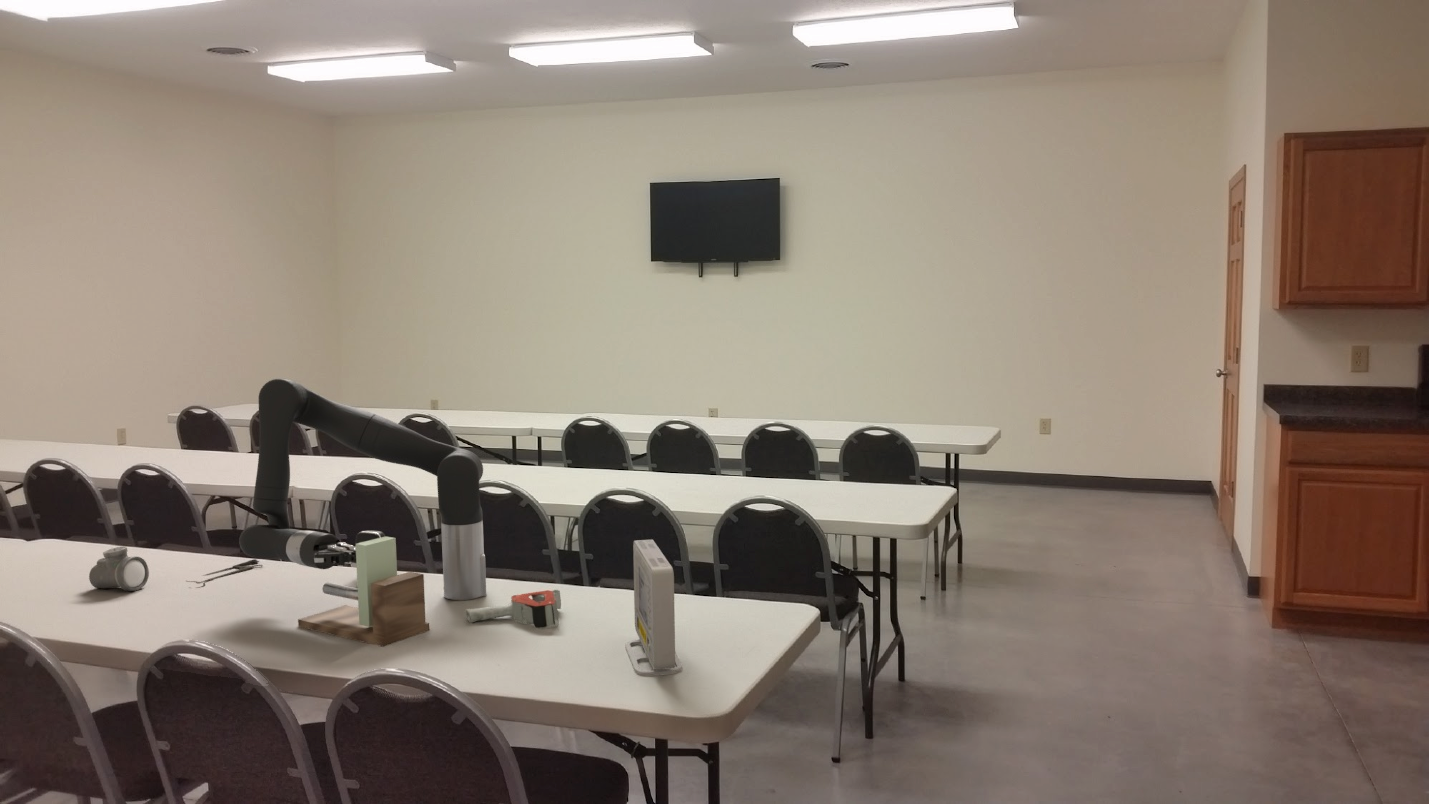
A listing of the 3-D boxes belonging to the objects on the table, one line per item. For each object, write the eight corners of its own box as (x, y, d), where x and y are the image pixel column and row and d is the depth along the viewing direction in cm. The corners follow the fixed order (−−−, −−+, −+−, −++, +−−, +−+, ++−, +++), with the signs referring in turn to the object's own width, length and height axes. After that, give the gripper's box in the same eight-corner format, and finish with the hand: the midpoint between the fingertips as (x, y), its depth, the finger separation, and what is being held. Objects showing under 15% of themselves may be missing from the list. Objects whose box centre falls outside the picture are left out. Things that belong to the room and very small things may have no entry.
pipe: (321, 596, 223) (321, 583, 222) (333, 593, 225) (332, 579, 225) (393, 611, 211) (392, 597, 211) (404, 608, 213) (403, 594, 213)
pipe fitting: (154, 583, 254) (144, 542, 252) (127, 595, 246) (117, 553, 245) (115, 586, 257) (105, 545, 256) (87, 597, 250) (77, 556, 248)
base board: (298, 626, 220) (295, 570, 219) (345, 611, 230) (343, 557, 229) (383, 646, 207) (380, 586, 205) (429, 630, 217) (427, 573, 216)
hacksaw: (255, 563, 276) (255, 557, 276) (281, 568, 271) (281, 562, 271) (168, 585, 256) (168, 579, 256) (194, 591, 251) (193, 584, 250)
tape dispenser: (460, 629, 223) (528, 640, 211) (457, 605, 222) (525, 614, 211) (520, 605, 237) (587, 614, 226) (518, 582, 237) (584, 589, 225)
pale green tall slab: (359, 624, 213) (355, 543, 212) (388, 614, 220) (385, 536, 218) (369, 626, 212) (365, 545, 210) (398, 616, 218) (395, 538, 216)
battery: (389, 575, 261) (387, 530, 259) (380, 579, 257) (378, 533, 256) (365, 573, 263) (363, 528, 262) (356, 577, 259) (354, 531, 258)
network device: (688, 679, 187) (686, 568, 185) (639, 683, 185) (637, 572, 183) (664, 635, 212) (662, 537, 210) (621, 638, 210) (619, 539, 208)
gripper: (285, 538, 219) (340, 547, 210) (338, 526, 230) (393, 534, 221) (287, 573, 220) (342, 584, 210) (339, 559, 231) (394, 569, 222)
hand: (368, 559), depth 216 cm, fingers closed
